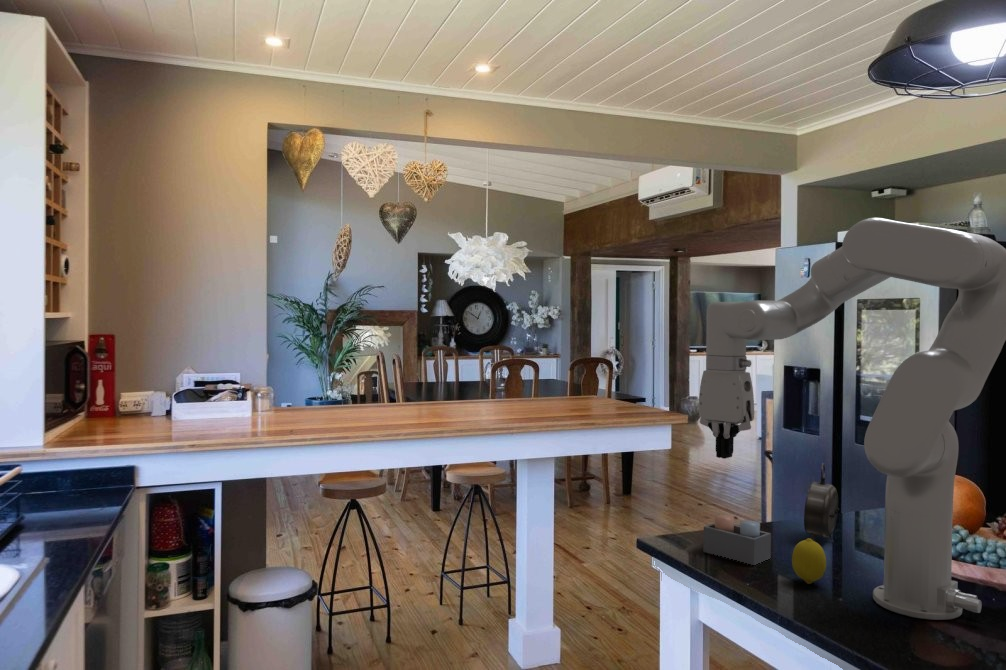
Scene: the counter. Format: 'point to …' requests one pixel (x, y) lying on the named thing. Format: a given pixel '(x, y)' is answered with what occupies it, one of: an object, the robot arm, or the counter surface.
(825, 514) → the alarm clock
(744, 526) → the pale blue cube
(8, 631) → the counter surface
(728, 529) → the peach rounded cube
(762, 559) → the grey storage bin
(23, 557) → the counter surface
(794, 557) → the lemon
